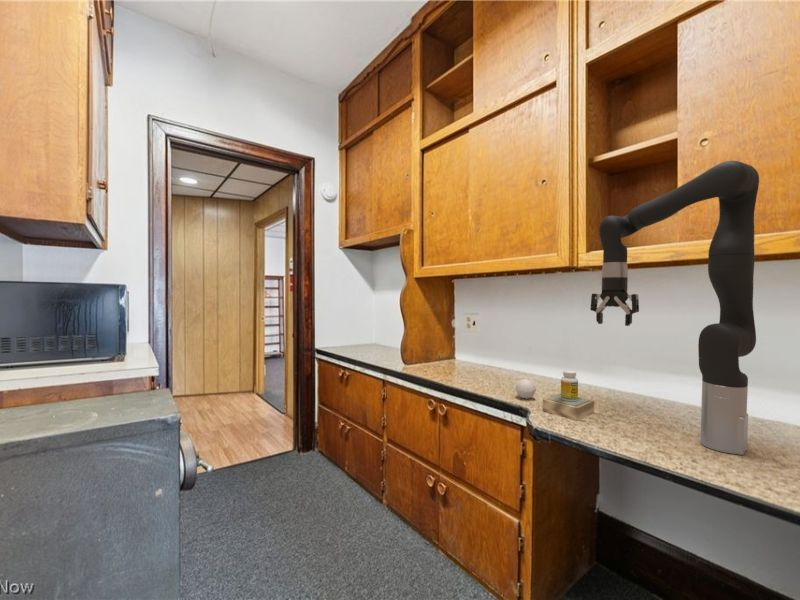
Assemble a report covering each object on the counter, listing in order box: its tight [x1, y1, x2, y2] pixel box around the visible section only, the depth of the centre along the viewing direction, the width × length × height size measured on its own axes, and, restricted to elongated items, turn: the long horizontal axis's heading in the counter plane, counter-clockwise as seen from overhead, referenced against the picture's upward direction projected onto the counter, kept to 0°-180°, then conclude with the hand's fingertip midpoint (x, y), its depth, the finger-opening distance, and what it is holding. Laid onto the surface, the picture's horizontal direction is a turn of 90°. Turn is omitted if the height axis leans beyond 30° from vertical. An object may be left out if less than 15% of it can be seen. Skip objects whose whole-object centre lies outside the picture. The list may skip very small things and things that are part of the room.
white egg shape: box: [514, 378, 537, 400], centre depth 146 cm, size 10×7×7 cm
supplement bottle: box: [560, 370, 579, 402], centre depth 129 cm, size 5×5×10 cm
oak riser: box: [542, 392, 595, 421], centre depth 129 cm, size 12×12×4 cm
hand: (613, 324), depth 127 cm, fingers open, 8 cm apart
